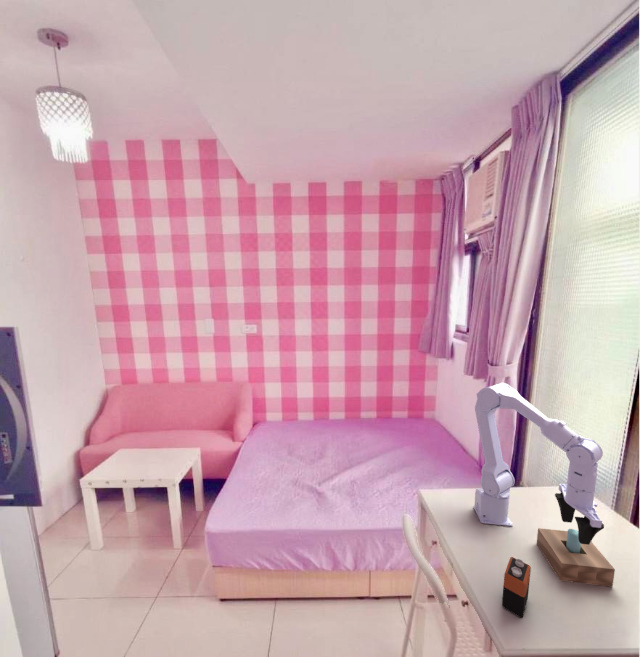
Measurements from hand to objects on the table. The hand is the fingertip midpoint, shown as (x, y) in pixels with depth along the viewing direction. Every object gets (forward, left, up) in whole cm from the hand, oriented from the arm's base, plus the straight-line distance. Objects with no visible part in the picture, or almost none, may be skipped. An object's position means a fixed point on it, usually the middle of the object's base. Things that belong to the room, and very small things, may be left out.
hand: (575, 531), depth 87 cm
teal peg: (0, 0, -8) cm, 8 cm away
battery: (-20, -14, -10) cm, 26 cm away
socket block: (0, 0, -10) cm, 10 cm away
